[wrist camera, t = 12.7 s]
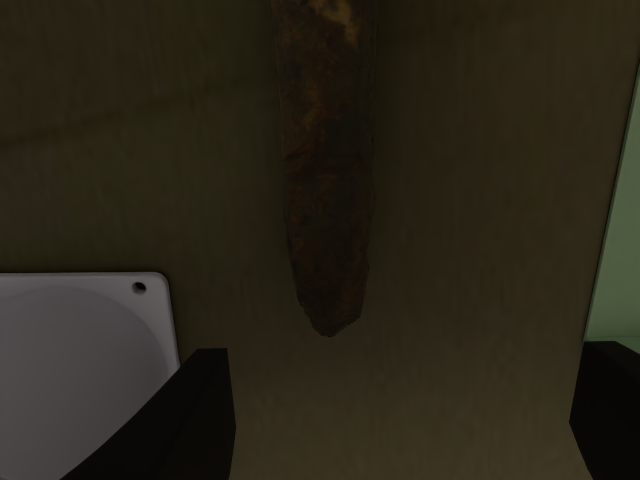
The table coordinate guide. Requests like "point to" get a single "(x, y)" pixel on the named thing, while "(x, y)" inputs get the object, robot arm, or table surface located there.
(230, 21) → the table surface
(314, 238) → the hand tool
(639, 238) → the dustpan
